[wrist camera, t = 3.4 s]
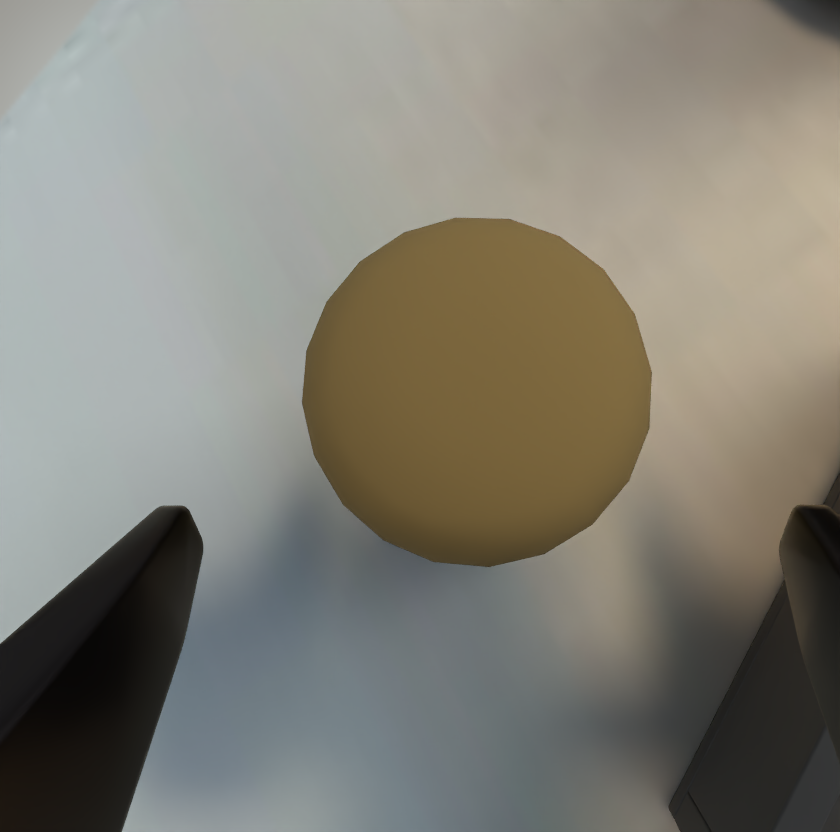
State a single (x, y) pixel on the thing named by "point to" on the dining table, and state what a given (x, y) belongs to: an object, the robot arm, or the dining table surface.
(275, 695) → the dining table surface
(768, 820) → the bin
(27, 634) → the robot arm
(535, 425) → the tan pawn figure
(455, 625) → the dining table surface
